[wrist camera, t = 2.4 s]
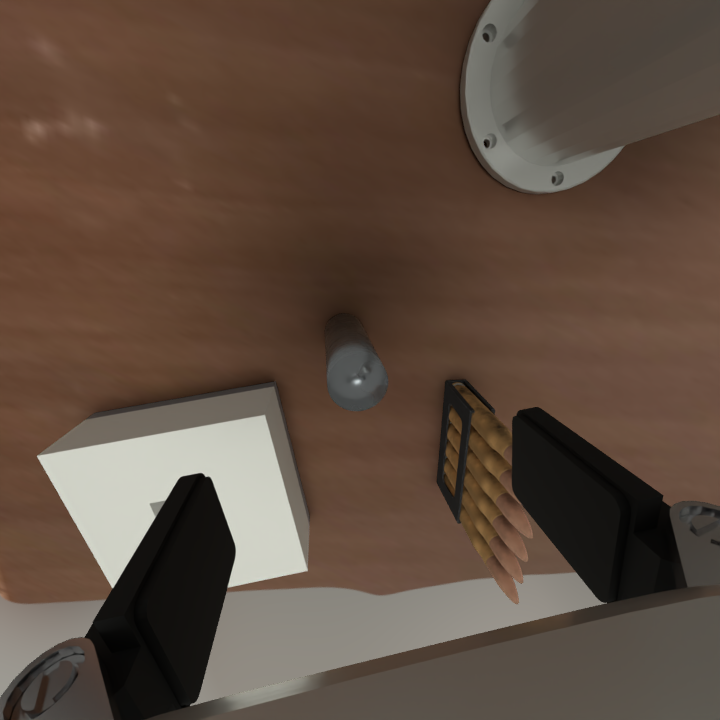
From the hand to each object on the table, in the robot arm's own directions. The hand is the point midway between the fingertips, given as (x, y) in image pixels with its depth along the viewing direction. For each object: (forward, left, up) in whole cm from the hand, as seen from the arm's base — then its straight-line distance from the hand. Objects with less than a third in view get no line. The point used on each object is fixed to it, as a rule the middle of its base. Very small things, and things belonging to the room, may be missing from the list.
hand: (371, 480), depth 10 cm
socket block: (+10, -13, -17) cm, 23 cm away
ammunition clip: (+11, +8, -17) cm, 22 cm away
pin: (0, 0, -17) cm, 17 cm away
